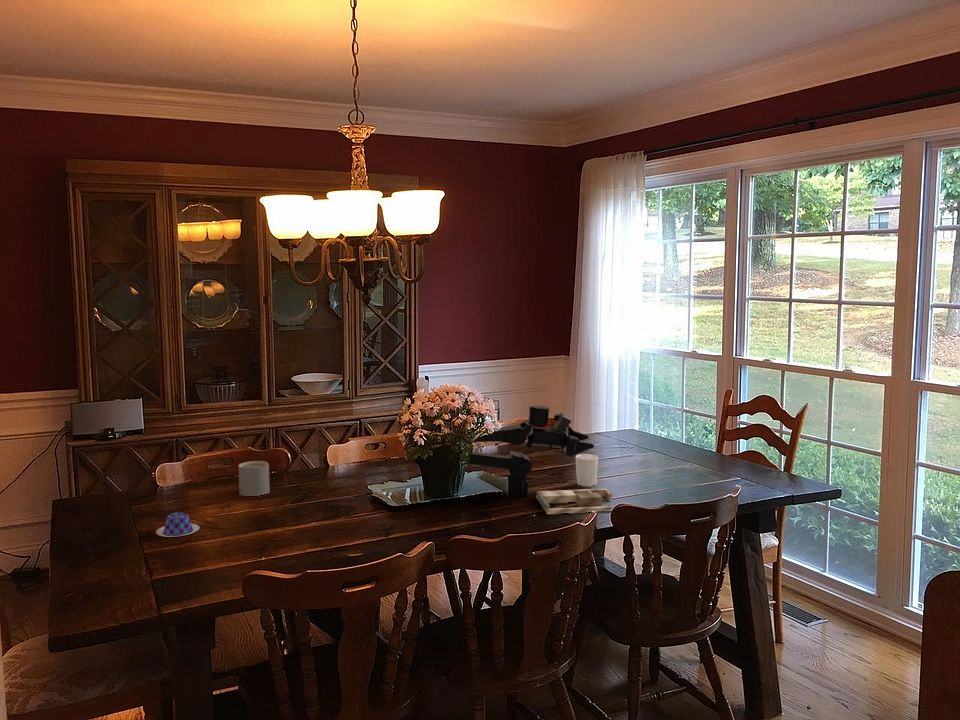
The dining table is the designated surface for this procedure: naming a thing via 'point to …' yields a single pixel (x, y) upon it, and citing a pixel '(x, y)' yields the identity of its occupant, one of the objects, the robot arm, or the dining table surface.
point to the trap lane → (571, 500)
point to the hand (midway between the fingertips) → (591, 441)
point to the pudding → (177, 525)
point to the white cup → (586, 469)
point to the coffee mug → (254, 478)
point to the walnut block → (588, 500)
